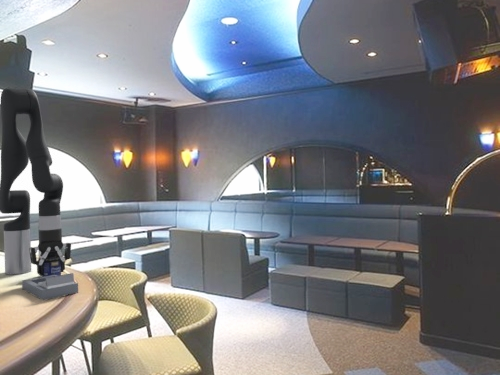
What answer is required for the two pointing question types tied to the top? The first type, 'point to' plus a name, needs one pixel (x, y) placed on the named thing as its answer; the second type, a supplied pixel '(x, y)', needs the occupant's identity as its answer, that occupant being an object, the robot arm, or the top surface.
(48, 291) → the socket plate
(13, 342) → the top surface
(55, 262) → the pill bottle
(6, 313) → the top surface
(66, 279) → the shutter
